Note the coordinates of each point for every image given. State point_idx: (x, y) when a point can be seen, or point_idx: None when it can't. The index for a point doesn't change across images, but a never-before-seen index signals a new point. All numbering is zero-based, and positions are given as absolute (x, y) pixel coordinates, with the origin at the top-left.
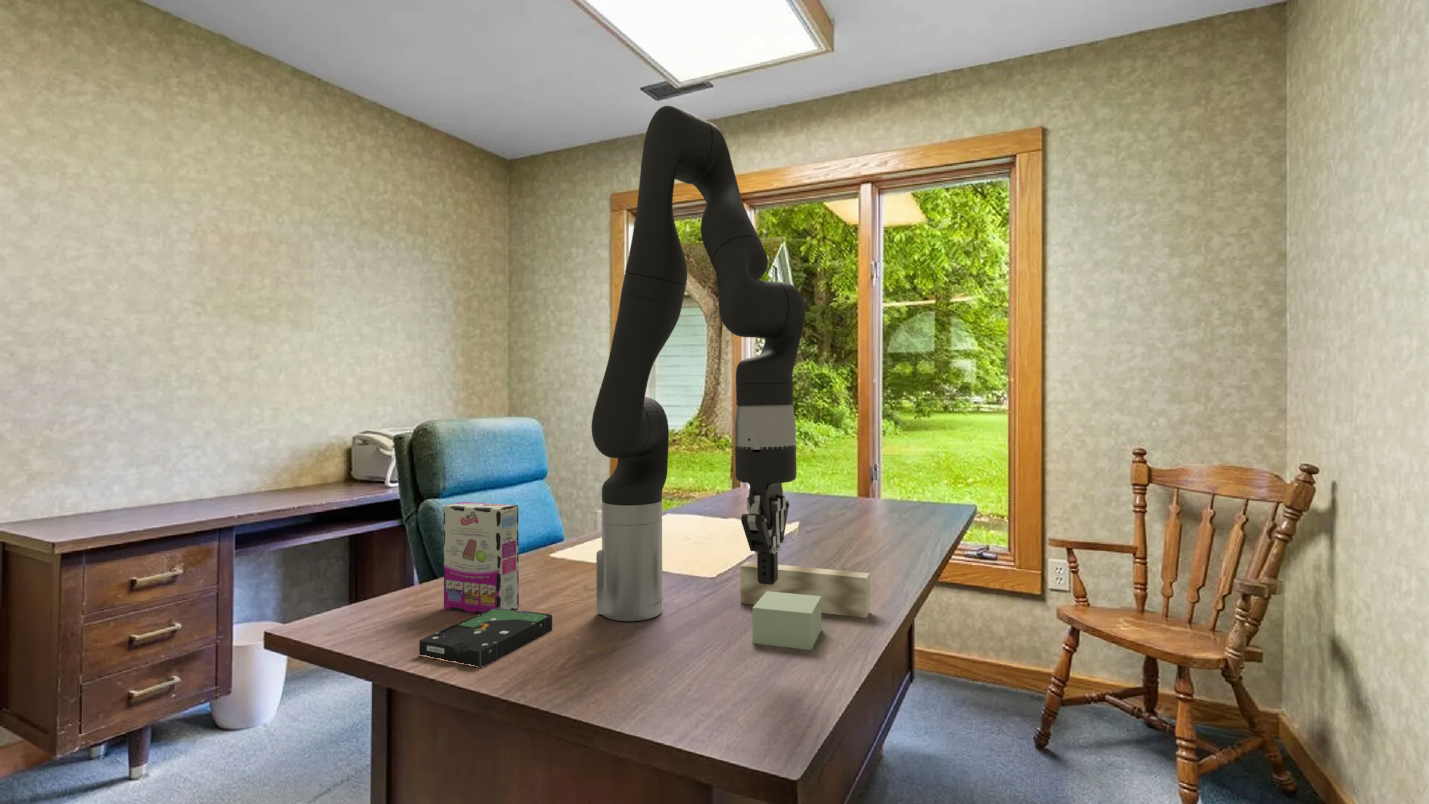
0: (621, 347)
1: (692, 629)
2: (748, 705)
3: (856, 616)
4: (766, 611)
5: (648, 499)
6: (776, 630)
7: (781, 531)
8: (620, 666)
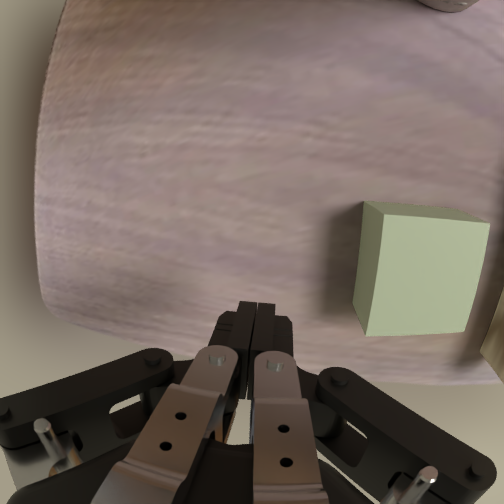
0: None
1: (397, 74)
2: (129, 250)
3: (484, 339)
4: (378, 245)
5: None
6: (366, 254)
7: (322, 453)
8: (188, 21)
